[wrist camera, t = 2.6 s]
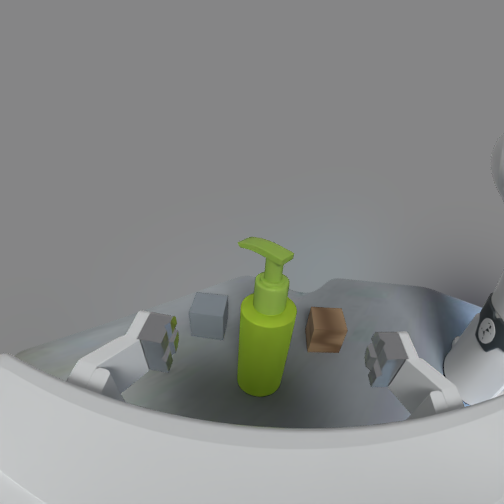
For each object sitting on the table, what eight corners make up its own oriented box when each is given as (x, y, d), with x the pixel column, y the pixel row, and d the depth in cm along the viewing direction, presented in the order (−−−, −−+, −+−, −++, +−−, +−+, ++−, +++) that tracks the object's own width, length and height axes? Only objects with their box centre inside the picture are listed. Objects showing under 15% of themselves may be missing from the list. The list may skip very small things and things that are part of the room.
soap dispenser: (251, 353, 39) (262, 227, 30) (288, 377, 36) (319, 250, 26) (222, 375, 35) (222, 244, 26) (261, 404, 32) (283, 274, 22)
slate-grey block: (227, 318, 46) (227, 295, 43) (223, 340, 41) (222, 316, 39) (198, 315, 46) (196, 292, 44) (191, 336, 42) (188, 312, 39)
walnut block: (334, 331, 44) (341, 308, 42) (338, 353, 40) (347, 330, 37) (305, 329, 44) (311, 306, 42) (307, 352, 40) (314, 329, 38)
